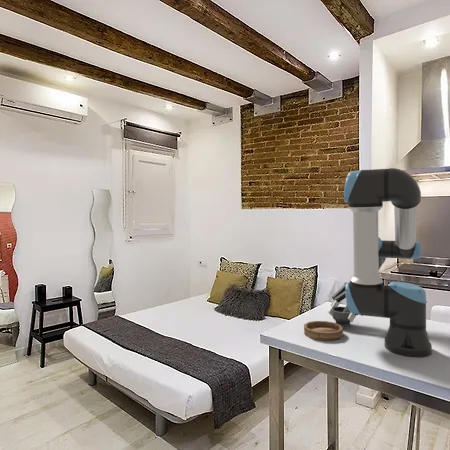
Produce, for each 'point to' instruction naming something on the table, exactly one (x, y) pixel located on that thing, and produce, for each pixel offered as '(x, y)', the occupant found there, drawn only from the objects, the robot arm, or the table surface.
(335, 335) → the round wooden tray
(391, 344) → the robot arm
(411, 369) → the table surface
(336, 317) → the mortar and pestle
